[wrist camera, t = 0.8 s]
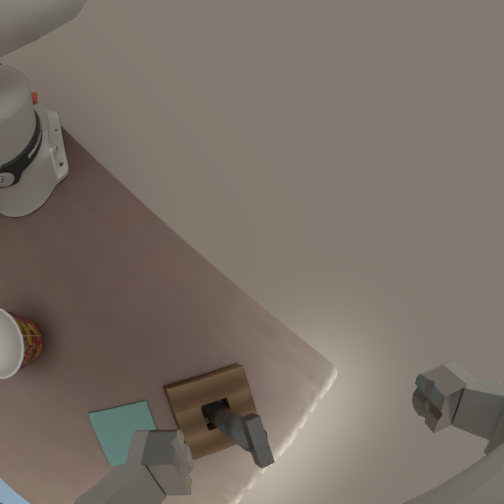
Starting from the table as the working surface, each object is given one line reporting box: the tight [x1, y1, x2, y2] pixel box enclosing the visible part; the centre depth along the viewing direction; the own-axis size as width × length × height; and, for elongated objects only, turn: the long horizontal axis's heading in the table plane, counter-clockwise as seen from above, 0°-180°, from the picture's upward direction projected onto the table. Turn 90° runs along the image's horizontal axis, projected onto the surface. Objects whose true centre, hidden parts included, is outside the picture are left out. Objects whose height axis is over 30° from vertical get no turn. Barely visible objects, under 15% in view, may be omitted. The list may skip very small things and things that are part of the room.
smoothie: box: [0, 308, 43, 379], centre depth 25 cm, size 8×8×20 cm
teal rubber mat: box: [88, 400, 157, 467], centre depth 37 cm, size 10×10×1 cm
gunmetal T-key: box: [201, 401, 274, 468], centre depth 37 cm, size 7×4×18 cm, turn 17°
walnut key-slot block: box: [163, 364, 258, 460], centre depth 43 cm, size 13×13×3 cm
